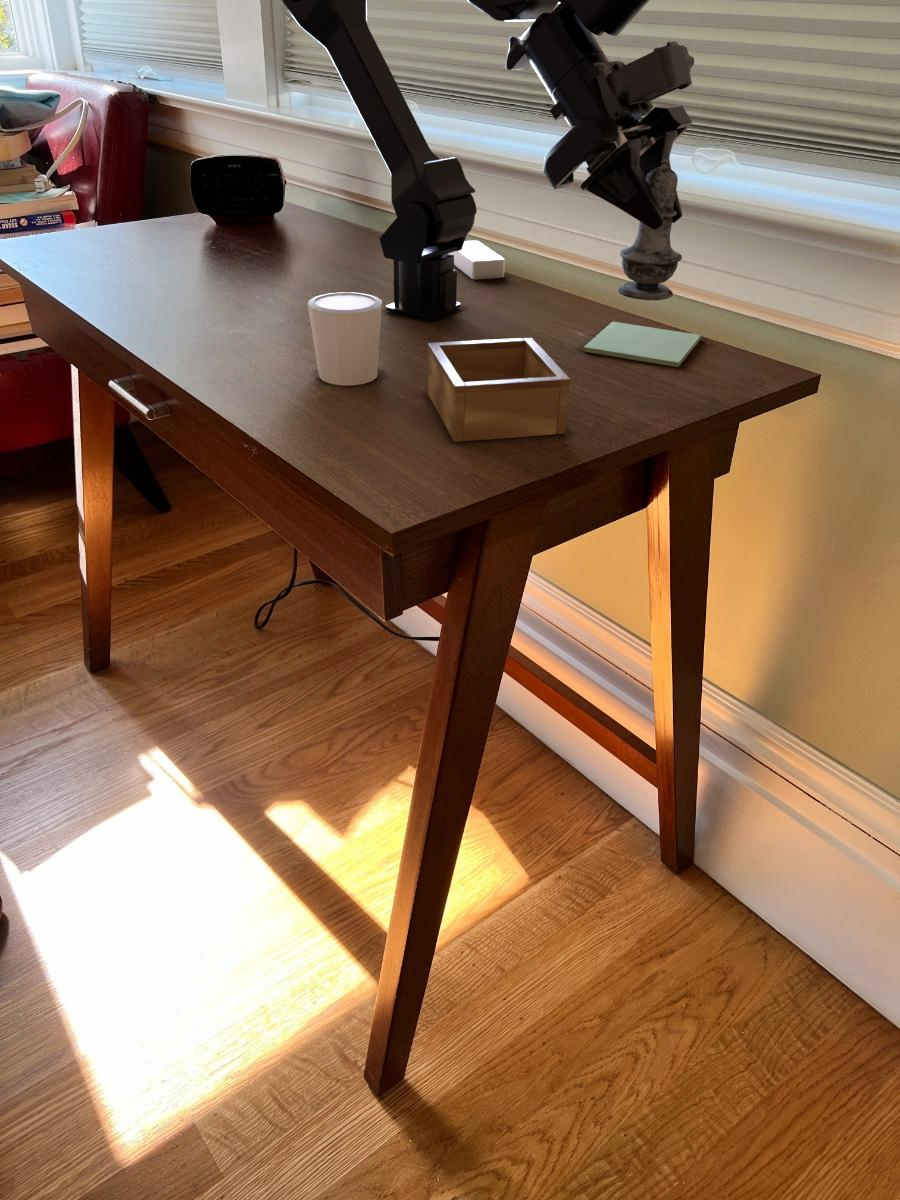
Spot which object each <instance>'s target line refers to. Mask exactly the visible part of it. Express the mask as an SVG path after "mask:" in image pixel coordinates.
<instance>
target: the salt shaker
mask: <svg viewBox="0 0 900 1200" xmlns="http://www.w3.org/2000/svg"><path fill="white" fill-rule="evenodd" d="M661 163H662V165H661V166H659V167H658V168H657V169H654V170H652V171H650V172H649V173H648V175H647V177H646V181H647V183H648V185H649V188H650V190H651V192H652V194H653V196H654V198H655V200H656V202H657V205H658V207H659V209H660V212H661V214H662V217H663V219H664V224H663V225H662V226H660V227H659V228H658V229H656V230H653V229H652V228H650V227H648V226H647V225H645V224H644V223H642V222H640V221H639V220H638V227H637V234H636V237H635V239H634V242H633V244H632V245H631V246H629V247H625V248H622V249H621V250H620V251H619V257H621V266H622V270H623V273H624V274H625V277H627V278H628V279H629V280H631V281H628V282H626V283H624V284H622V285H620V286H619V287H618V289H617V292H618V293H619V294H620V295H621V296H623V297H627V298H630V299H635V300H639V301H640V300H641V301H663V300H668V299H670V298H672V297H673V295H674V292H673V291H672V290H671V289H670V288H669V287H668V286H666V285H665V284H663V283H665V282H667V281H668V280H670V278H672V277H673V276H674V274H675V272H676V270H677V269H678V265H679V262H681V260H682V259H683V255H682V254H681V253H680V252H678V251H676V250H674V249H673V248H672V245H671V231H672V224H673V223H672V219H673V216H675V215H676V214H677V212H676V211H675V210H674V209H673V207H674V201H675V195H676V191H677V188H678V181H679V179H678V174H677V173H676V171H674V169H672V168H671V169H669V167H667V163H668V161H667V159H666V157H664V158H663V159H662V161H661Z"/></svg>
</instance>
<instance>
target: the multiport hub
mask: <svg viewBox="0 0 900 1200" xmlns="http://www.w3.org/2000/svg"><path fill="white" fill-rule="evenodd" d="M448 254H450V255H454V267H456V268H458V269H459V270H460V271H462V272H463V273H464V274H465V275H467V276H468V277H469V278H470V279H472V280H488V279H489V280H491V279H503V278H505V265H506V259H505V258H504V257H503V256H502V255H500V254H498V253H496V252H495V251H494V250H492V249H491V248H489V247H488V246H486V245H484V244H483V243H482V242H481V241H479V240H465V242H464V245H463V248H462V250H461V251H455V252H452V253H448Z"/></svg>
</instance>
